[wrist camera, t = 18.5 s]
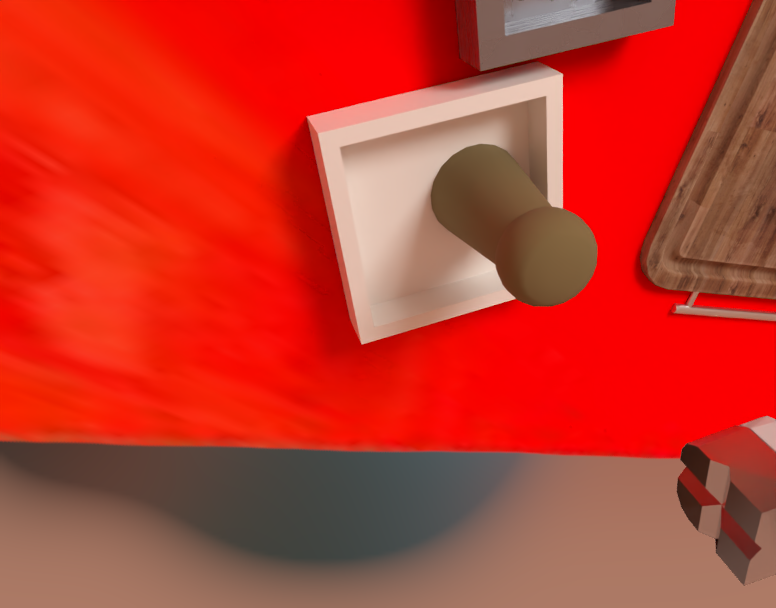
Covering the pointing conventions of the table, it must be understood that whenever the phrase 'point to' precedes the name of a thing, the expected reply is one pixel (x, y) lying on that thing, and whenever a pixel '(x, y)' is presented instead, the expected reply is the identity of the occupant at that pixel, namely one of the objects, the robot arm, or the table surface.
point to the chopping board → (725, 186)
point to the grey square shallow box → (549, 26)
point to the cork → (514, 225)
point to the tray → (427, 191)
